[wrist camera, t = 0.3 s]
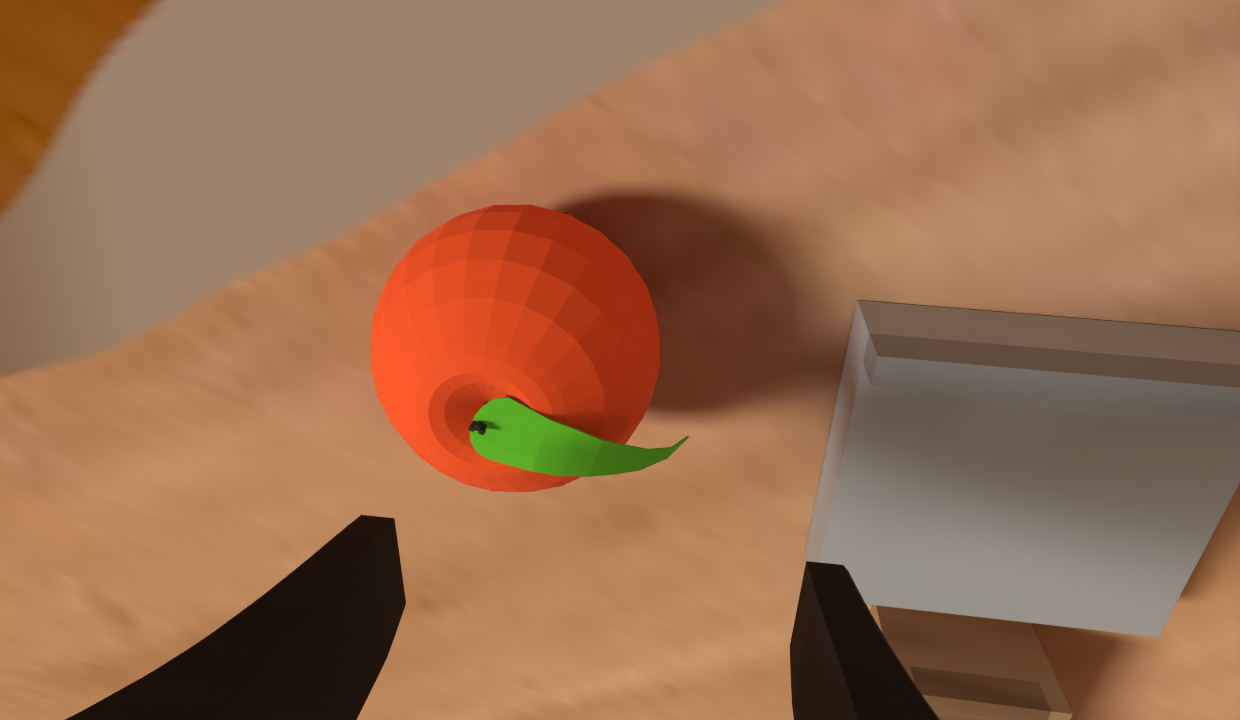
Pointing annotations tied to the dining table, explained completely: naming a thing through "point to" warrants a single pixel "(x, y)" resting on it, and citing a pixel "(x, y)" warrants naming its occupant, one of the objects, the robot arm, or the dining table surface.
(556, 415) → the red fruit
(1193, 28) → the dining table surface
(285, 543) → the dining table surface
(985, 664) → the open wooden crate
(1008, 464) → the dock
